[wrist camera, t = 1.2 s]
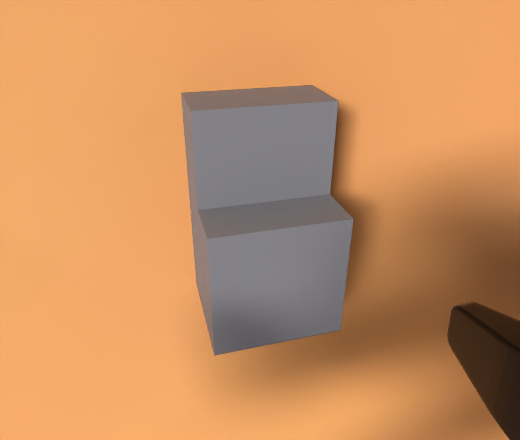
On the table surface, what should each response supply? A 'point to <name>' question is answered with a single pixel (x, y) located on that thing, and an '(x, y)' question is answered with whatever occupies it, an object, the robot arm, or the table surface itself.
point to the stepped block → (265, 214)
